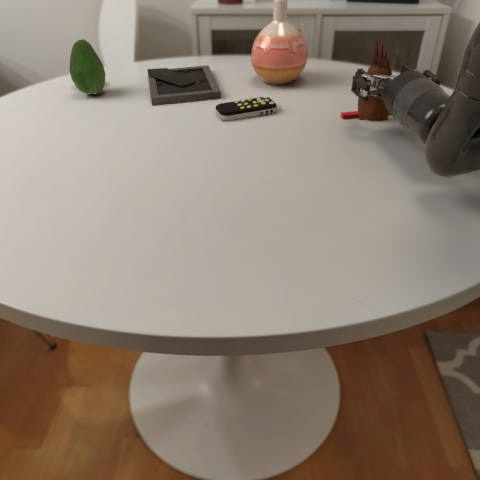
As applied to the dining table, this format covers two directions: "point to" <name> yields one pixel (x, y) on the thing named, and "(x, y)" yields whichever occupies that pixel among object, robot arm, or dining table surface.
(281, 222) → the dining table surface
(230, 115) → the remote control
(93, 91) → the avocado
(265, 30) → the vase
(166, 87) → the picture frame
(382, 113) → the wooden figurine
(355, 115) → the red spoon
